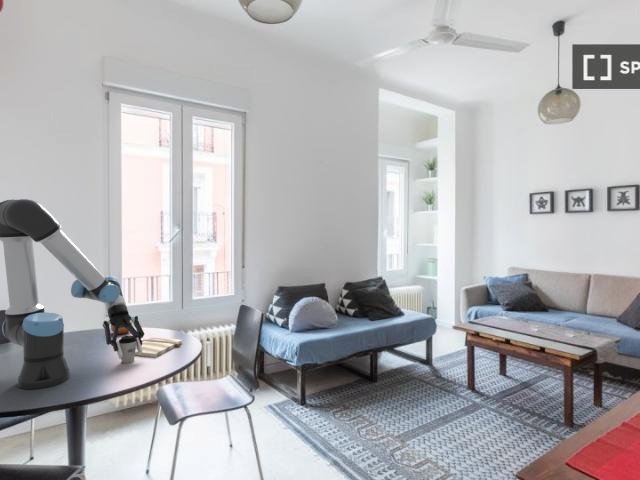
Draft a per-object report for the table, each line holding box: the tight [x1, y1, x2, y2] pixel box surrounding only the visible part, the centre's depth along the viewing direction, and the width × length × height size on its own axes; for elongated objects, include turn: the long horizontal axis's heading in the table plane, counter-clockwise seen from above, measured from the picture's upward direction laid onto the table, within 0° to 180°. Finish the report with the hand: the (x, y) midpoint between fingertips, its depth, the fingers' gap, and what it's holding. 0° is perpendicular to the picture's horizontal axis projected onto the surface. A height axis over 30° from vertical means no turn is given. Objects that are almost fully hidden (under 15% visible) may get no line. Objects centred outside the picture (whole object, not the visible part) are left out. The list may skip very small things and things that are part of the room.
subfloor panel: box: [135, 336, 183, 358], centre depth 174 cm, size 20×19×2 cm
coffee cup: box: [118, 335, 137, 364], centre depth 157 cm, size 7×7×10 cm
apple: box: [110, 320, 133, 335], centre depth 197 cm, size 10×10×8 cm
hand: (131, 354), depth 155 cm, fingers closed on coffee cup, 7 cm apart
